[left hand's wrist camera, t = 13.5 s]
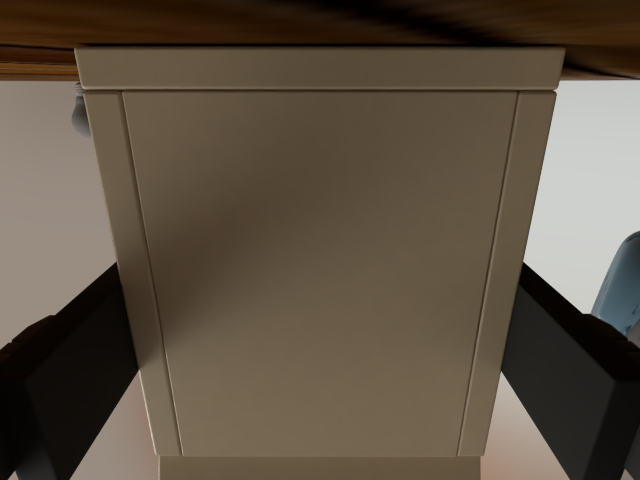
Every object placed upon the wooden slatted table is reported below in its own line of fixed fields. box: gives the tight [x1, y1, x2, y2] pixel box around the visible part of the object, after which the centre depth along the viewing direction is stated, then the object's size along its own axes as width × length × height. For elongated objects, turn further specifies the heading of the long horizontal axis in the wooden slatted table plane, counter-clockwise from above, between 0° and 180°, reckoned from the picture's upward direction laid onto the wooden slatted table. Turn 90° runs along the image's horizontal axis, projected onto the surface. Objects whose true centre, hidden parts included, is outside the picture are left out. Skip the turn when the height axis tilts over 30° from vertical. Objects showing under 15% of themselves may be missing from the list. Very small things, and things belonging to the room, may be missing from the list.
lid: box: [159, 454, 480, 480], centre depth 21 cm, size 18×10×8 cm, turn 179°
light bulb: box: [72, 82, 92, 138], centre depth 75 cm, size 6×6×10 cm
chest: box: [74, 46, 565, 457], centre depth 18 cm, size 17×10×11 cm, turn 0°
